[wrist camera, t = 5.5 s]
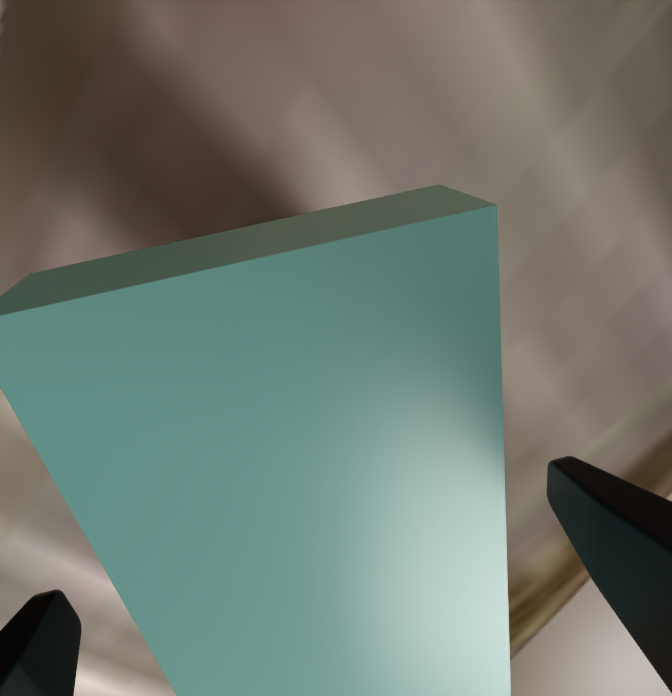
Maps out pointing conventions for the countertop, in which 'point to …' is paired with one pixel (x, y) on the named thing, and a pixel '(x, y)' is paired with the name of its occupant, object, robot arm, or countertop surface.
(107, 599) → the countertop surface
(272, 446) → the lid
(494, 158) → the countertop surface
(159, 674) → the countertop surface
